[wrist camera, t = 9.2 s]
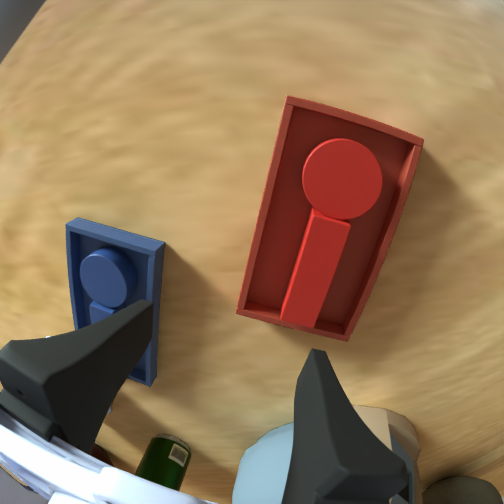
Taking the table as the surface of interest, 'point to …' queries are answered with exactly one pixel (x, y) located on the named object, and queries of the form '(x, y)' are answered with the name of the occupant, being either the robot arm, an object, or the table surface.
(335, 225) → the red spoon
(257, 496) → the alarm clock
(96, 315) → the blue spoon
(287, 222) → the red tray
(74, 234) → the blue tray
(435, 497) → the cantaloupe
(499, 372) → the table surface
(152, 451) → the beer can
